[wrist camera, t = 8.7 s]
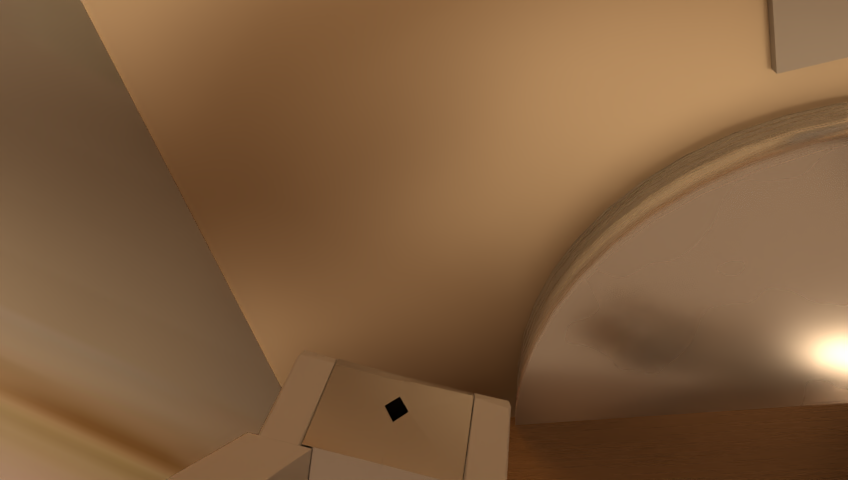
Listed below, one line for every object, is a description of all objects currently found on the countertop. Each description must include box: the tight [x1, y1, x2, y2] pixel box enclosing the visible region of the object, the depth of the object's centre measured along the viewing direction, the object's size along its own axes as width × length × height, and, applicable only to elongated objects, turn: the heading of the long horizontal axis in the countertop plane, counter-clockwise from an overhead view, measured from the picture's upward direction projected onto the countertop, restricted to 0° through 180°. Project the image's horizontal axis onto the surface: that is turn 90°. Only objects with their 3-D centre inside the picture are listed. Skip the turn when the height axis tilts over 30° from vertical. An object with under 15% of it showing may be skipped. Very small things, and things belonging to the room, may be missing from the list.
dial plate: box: [81, 0, 848, 417], centre depth 12 cm, size 21×21×2 cm
